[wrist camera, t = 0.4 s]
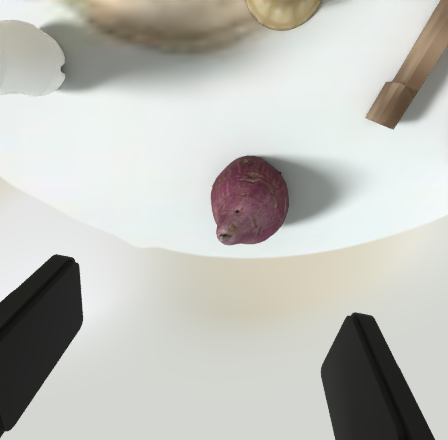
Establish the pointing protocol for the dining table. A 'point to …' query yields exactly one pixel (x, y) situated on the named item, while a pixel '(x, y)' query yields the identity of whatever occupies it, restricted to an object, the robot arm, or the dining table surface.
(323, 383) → the robot arm
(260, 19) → the hand bell
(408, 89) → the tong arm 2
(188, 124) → the dining table surface
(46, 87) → the water bottle
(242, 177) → the vegetable
